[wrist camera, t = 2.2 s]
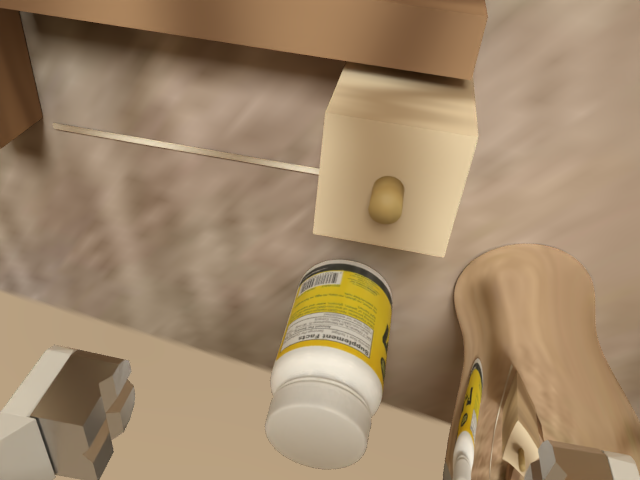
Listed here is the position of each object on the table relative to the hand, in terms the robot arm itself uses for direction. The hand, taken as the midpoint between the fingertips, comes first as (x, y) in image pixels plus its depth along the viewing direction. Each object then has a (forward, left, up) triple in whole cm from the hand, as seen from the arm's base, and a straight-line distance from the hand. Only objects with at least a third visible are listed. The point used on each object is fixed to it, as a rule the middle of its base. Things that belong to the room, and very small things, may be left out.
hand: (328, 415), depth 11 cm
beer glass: (-7, +8, -14) cm, 18 cm away
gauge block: (0, 0, -14) cm, 14 cm away
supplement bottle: (+1, +10, -14) cm, 17 cm away
